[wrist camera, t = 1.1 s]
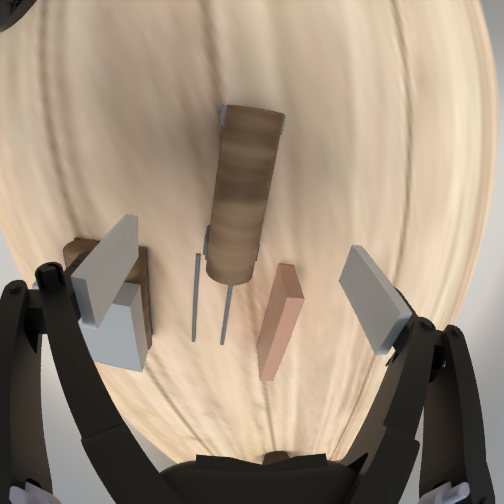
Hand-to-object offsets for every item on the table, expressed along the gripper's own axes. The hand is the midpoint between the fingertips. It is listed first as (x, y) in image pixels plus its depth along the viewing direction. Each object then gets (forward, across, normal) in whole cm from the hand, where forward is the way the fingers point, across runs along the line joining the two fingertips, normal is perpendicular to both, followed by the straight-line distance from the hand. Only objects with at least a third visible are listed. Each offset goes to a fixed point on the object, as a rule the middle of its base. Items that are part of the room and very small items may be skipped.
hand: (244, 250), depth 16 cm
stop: (+16, +7, -18) cm, 25 cm away
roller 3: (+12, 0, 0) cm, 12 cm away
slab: (+10, -17, -18) cm, 27 cm away
